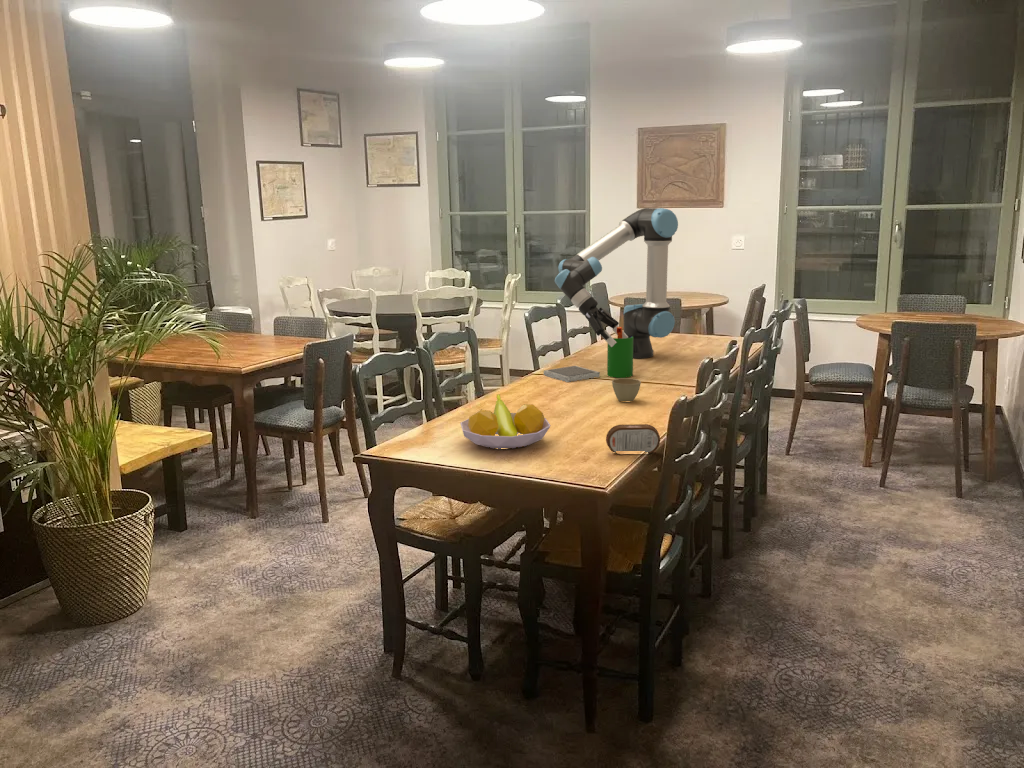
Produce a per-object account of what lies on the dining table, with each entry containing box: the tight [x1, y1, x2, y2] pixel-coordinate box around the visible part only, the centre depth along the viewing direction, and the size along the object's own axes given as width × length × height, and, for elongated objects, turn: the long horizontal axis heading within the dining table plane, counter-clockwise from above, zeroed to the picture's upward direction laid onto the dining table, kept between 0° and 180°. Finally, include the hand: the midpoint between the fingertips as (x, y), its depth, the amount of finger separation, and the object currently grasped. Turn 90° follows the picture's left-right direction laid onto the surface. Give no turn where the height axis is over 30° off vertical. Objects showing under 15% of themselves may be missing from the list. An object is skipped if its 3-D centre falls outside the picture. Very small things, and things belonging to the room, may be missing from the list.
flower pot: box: [611, 377, 642, 402], centre depth 294 cm, size 10×10×7 cm
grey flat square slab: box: [543, 365, 601, 383], centre depth 335 cm, size 16×16×2 cm
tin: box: [605, 423, 661, 455], centre depth 234 cm, size 15×3×8 cm, turn 92°
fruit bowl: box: [460, 393, 551, 450], centre depth 247 cm, size 28×27×11 cm
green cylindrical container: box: [606, 326, 634, 379], centre depth 333 cm, size 10×9×20 cm
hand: (620, 342), depth 332 cm, fingers open, 13 cm apart
